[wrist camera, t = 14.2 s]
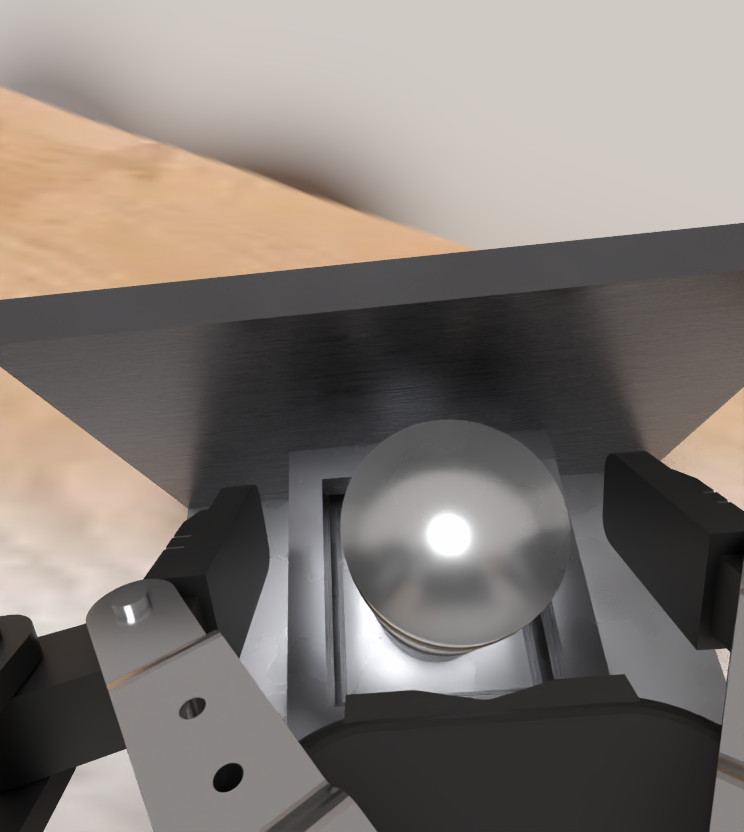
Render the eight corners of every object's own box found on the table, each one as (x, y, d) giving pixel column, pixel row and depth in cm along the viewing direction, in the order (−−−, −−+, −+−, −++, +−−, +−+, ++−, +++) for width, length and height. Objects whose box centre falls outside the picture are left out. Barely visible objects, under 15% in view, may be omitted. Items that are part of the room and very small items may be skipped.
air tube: (378, 668, 17) (343, 656, 8) (371, 545, 19) (335, 427, 10) (501, 659, 17) (600, 637, 8) (481, 536, 19) (543, 409, 10)
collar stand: (173, 782, 17) (-245, 960, 6) (204, 448, 22) (12, 239, 12) (730, 743, 16) (1337, 868, 6) (620, 410, 22) (818, 152, 11)
